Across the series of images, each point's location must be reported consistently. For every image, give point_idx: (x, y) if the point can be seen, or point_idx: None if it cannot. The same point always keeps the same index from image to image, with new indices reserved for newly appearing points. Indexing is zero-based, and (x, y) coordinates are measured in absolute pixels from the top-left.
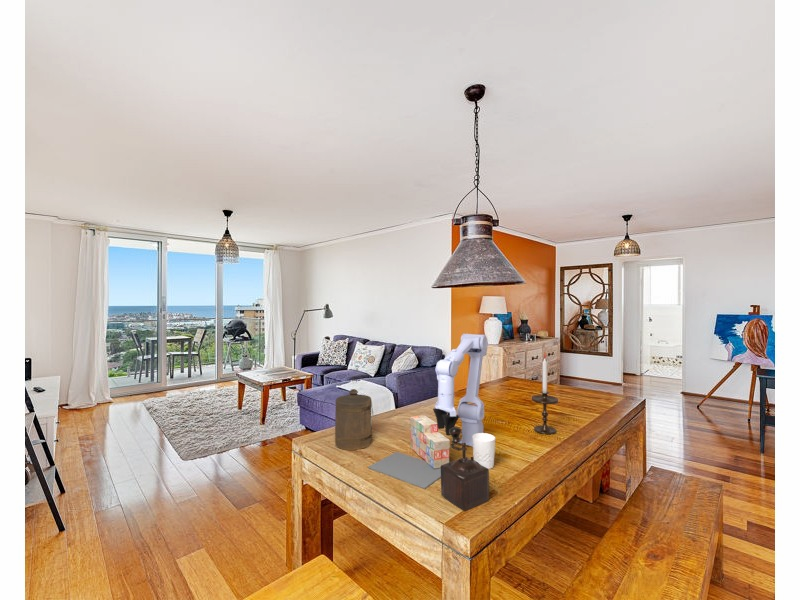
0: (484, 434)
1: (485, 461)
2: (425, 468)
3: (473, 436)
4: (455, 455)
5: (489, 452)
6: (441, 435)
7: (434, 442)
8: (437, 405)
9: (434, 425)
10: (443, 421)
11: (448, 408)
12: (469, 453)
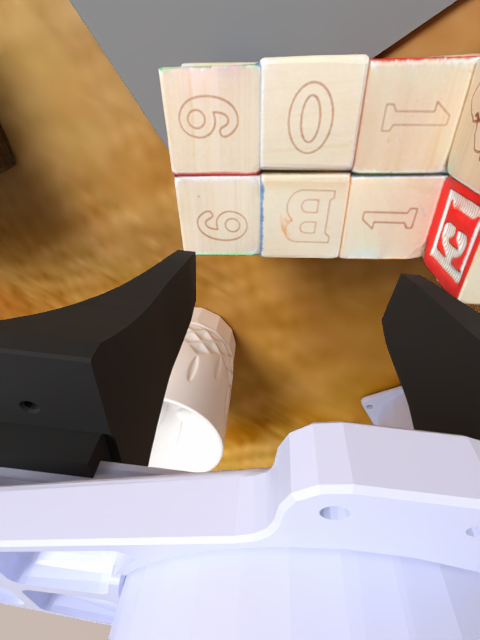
0: (209, 461)
1: None
2: (247, 4)
3: (198, 412)
4: (339, 289)
5: None
6: (312, 242)
7: (161, 72)
8: (473, 569)
9: (465, 253)
10: (409, 365)
11: (109, 577)
12: (323, 351)
